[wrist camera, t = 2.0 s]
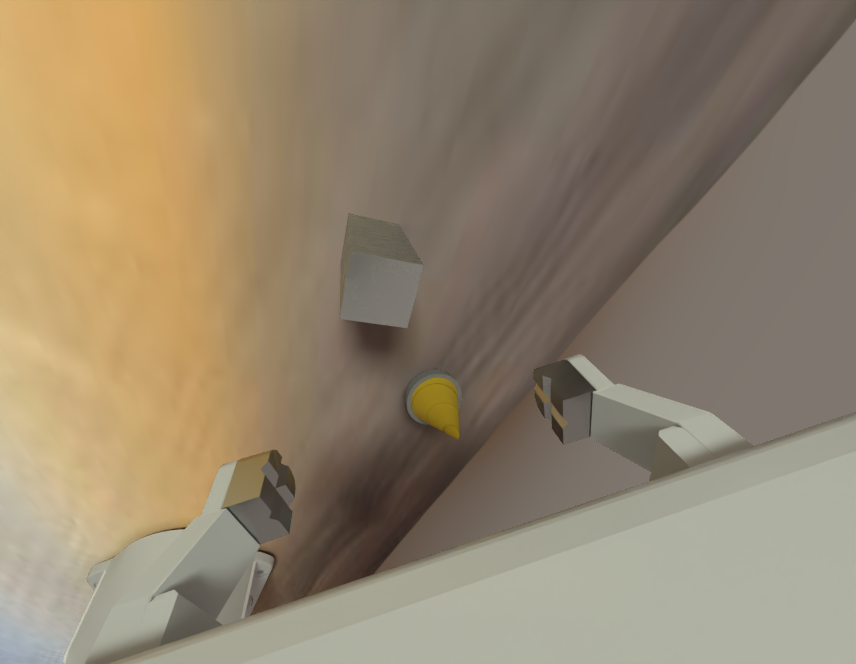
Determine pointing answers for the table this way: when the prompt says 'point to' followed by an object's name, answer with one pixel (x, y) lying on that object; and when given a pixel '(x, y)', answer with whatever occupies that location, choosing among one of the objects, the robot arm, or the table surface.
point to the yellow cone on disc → (435, 401)
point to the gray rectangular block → (378, 273)
